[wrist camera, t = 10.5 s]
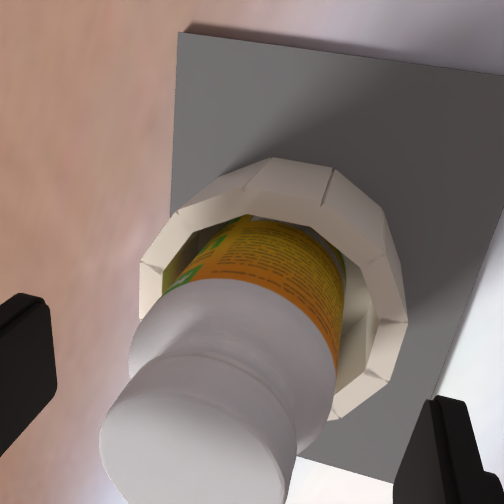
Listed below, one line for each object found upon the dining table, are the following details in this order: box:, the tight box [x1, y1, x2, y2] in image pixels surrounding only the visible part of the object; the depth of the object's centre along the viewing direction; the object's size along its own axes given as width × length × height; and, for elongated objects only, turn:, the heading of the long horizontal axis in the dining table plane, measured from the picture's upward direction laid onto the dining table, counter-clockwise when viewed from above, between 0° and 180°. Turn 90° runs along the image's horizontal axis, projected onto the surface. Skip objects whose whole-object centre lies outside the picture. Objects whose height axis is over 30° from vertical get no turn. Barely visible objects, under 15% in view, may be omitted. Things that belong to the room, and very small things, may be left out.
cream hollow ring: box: [139, 157, 408, 421], centre depth 16 cm, size 9×9×4 cm
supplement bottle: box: [99, 214, 346, 504], centre depth 13 cm, size 5×5×10 cm
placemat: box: [170, 32, 504, 484], centre depth 19 cm, size 18×12×1 cm, turn 173°
